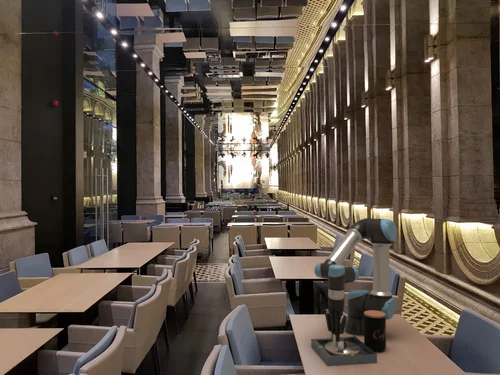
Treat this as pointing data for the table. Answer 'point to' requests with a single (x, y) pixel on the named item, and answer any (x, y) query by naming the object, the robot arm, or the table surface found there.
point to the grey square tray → (347, 359)
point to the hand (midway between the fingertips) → (335, 347)
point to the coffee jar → (375, 330)
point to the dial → (342, 347)
